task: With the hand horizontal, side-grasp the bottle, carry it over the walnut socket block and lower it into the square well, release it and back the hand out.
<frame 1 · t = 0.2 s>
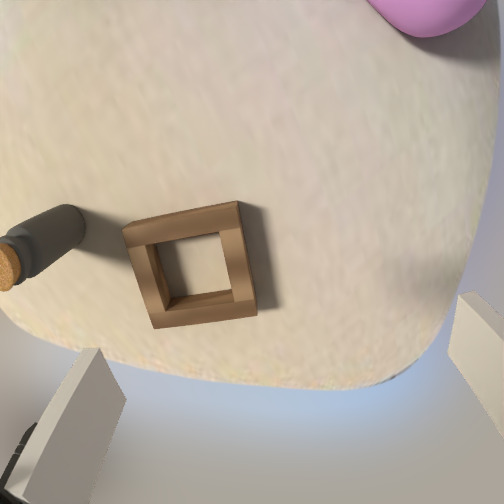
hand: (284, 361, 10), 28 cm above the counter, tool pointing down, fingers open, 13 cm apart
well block: (194, 262, 39), on the counter
bottle: (68, 225, 37), on the counter
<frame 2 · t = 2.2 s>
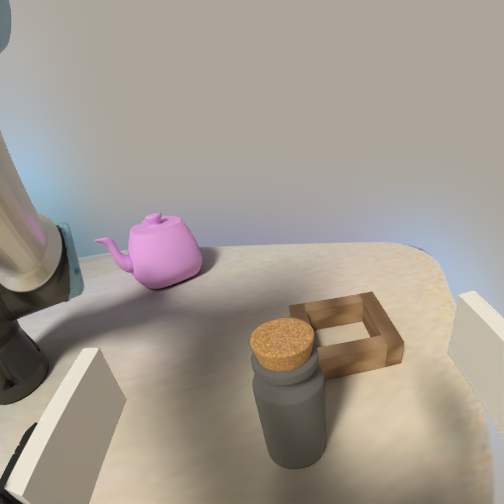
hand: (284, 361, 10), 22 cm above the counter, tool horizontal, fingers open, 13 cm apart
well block: (342, 343, 43), on the counter
teapot: (166, 277, 75), on the counter
bottle: (297, 447, 28), on the counter
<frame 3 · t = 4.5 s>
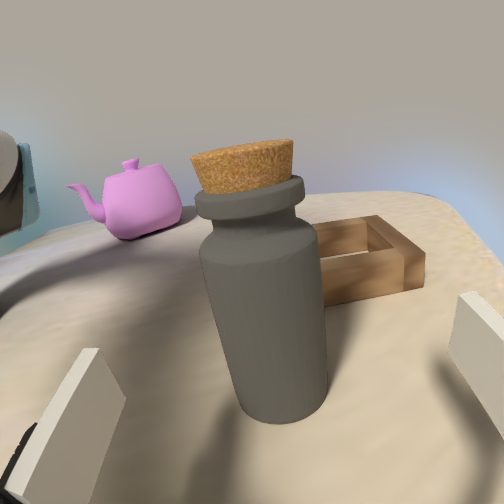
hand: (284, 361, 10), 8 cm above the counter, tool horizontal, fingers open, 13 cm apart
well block: (343, 270, 34), on the counter
teapot: (143, 231, 66), on the counter
bottle: (282, 393, 20), on the counter
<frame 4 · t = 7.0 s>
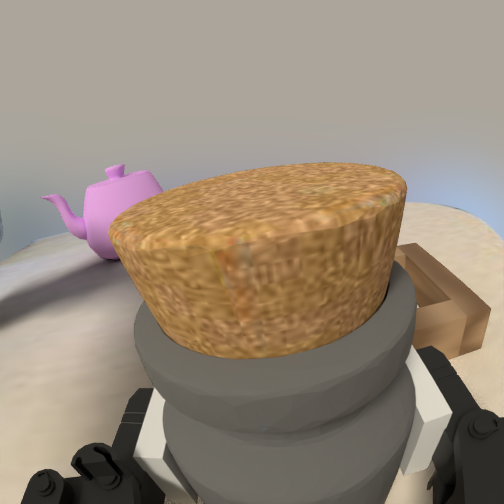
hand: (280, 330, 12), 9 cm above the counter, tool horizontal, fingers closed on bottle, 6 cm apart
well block: (378, 320, 25), on the counter
teapot: (131, 247, 57), on the counter
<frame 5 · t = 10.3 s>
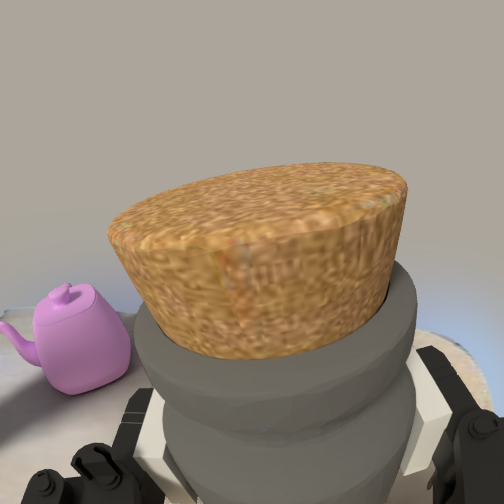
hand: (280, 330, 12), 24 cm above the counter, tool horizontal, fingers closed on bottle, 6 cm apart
teapot: (90, 369, 48), on the counter
when the fingers open (9 cm above the counter, at t = 13.8 s): bottle stays where it is, resting in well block.
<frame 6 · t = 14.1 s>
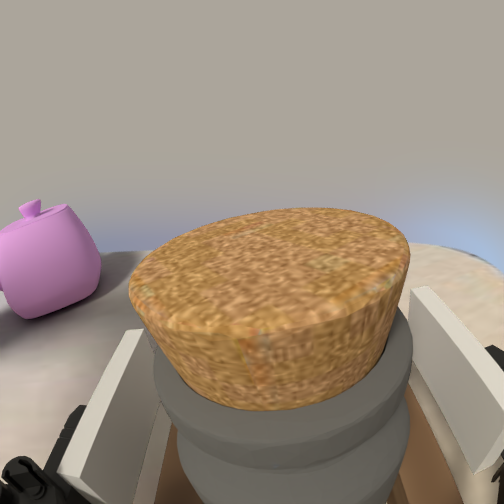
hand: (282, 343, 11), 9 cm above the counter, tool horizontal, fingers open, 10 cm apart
teapot: (57, 298, 43), on the counter
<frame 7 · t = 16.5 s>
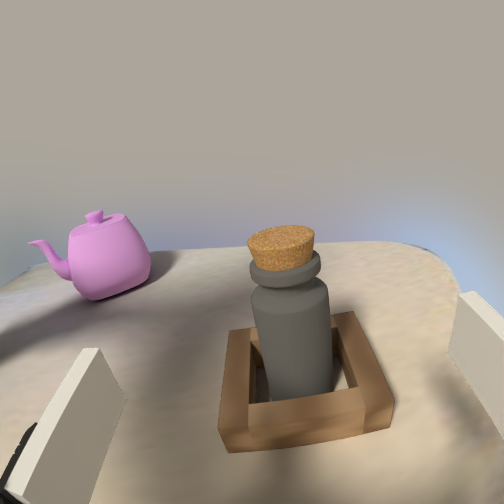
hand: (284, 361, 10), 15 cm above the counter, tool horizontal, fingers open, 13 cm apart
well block: (301, 389, 28), on the counter
teapot: (113, 286, 60), on the counter
bottle: (302, 391, 28), resting in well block
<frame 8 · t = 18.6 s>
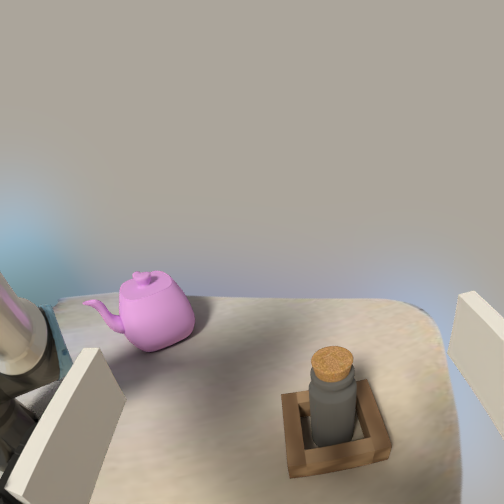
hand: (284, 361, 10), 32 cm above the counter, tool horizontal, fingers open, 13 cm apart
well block: (332, 434, 39), on the counter
teapot: (159, 334, 71), on the counter
bottle: (332, 435, 39), resting in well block
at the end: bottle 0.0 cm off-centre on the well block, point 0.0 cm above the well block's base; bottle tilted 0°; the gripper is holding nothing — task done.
